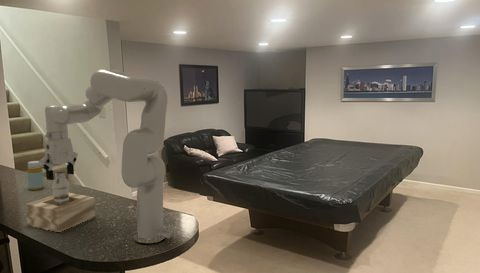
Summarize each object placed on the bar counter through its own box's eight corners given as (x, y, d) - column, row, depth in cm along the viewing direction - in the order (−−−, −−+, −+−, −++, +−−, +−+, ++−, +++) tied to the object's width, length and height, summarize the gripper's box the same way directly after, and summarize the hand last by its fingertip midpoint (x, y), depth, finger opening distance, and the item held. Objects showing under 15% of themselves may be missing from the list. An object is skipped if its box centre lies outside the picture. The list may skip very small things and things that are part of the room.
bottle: (30, 187, 188) (28, 160, 186) (44, 186, 190) (43, 160, 188) (27, 191, 182) (25, 163, 180) (41, 190, 184) (40, 163, 182)
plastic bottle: (54, 217, 144) (51, 171, 142) (72, 215, 147) (70, 170, 144) (52, 222, 138) (49, 174, 136) (70, 220, 141) (68, 173, 138)
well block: (95, 217, 148) (94, 197, 146) (59, 233, 131) (57, 211, 130) (65, 210, 154) (64, 191, 153) (27, 225, 138) (25, 203, 137)
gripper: (44, 139, 128) (48, 183, 131) (81, 133, 144) (84, 172, 146) (31, 138, 131) (34, 181, 133) (68, 132, 147) (71, 171, 149)
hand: (60, 176), depth 140 cm, fingers open, 9 cm apart
